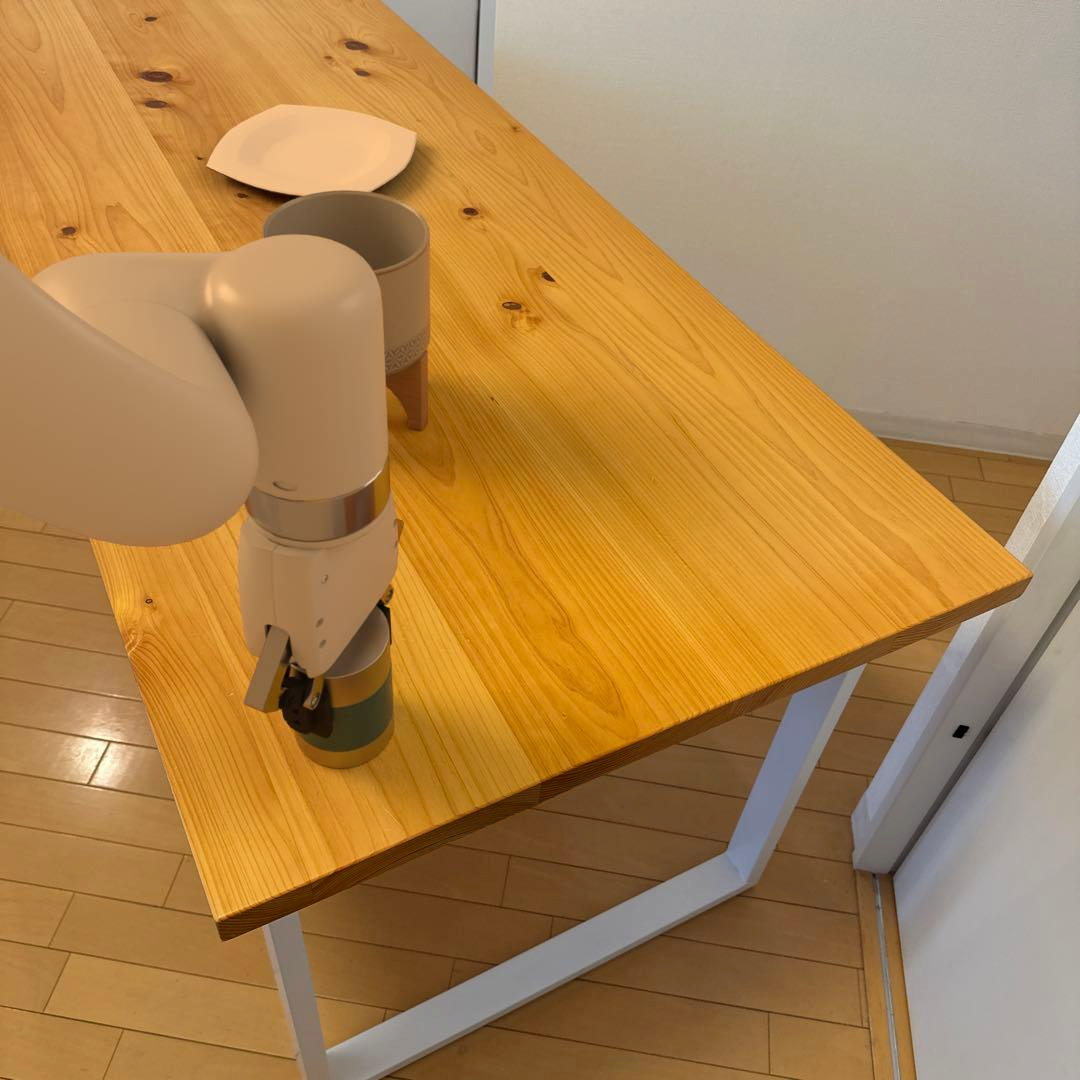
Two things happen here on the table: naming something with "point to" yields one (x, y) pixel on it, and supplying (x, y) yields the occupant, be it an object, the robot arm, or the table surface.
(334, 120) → the plate
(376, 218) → the planter
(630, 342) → the table surface
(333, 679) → the can
